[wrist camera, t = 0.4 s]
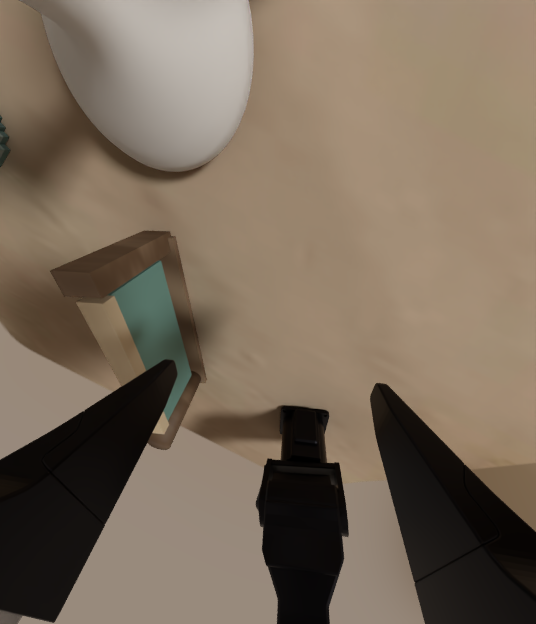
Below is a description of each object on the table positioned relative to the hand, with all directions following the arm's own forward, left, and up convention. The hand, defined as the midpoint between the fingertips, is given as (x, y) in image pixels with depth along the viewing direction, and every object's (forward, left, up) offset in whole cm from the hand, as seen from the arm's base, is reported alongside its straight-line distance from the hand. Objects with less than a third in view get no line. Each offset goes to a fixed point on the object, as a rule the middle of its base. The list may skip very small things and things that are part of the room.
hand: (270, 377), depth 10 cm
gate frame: (-7, +11, -12) cm, 18 cm away
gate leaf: (-6, +11, -11) cm, 17 cm away
